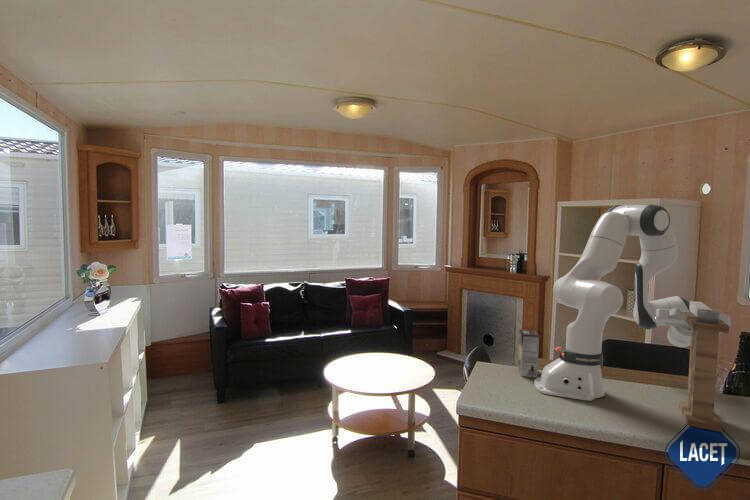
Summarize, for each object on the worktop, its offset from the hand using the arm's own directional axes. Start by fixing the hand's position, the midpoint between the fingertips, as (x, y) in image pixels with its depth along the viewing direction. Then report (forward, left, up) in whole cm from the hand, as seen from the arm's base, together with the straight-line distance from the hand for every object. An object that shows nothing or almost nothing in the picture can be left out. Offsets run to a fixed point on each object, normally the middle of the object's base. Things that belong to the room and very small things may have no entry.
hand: (695, 311), depth 138 cm
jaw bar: (-2, -8, 0) cm, 8 cm away
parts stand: (-3, -13, -30) cm, 33 cm away
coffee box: (-48, +16, -30) cm, 59 cm away
